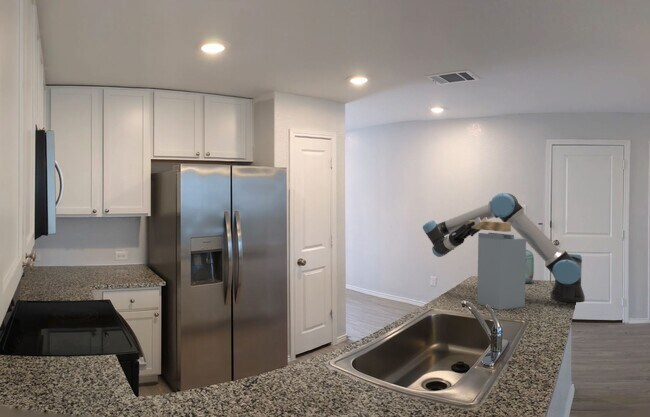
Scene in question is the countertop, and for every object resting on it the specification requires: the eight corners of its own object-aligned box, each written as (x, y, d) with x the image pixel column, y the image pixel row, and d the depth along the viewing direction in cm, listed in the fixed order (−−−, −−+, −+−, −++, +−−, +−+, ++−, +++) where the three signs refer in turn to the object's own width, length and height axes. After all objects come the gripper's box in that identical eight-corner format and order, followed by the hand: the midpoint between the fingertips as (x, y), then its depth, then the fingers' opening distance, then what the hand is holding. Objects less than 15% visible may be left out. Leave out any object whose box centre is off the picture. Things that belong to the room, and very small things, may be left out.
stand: (477, 303, 226) (478, 233, 225) (501, 300, 233) (502, 232, 232) (499, 310, 214) (501, 235, 213) (524, 306, 221) (526, 234, 220)
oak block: (468, 228, 234) (468, 220, 234) (474, 228, 236) (474, 220, 236) (504, 231, 213) (504, 222, 213) (510, 231, 215) (510, 222, 215)
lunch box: (485, 281, 285) (486, 245, 284) (486, 278, 294) (487, 244, 293) (533, 284, 274) (534, 248, 273) (533, 281, 284) (534, 246, 283)
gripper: (469, 245, 248) (499, 226, 230) (443, 247, 240) (472, 227, 222) (464, 232, 251) (493, 212, 233) (439, 234, 244) (467, 213, 225)
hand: (483, 219), depth 227 cm, fingers closed on oak block, 4 cm apart
